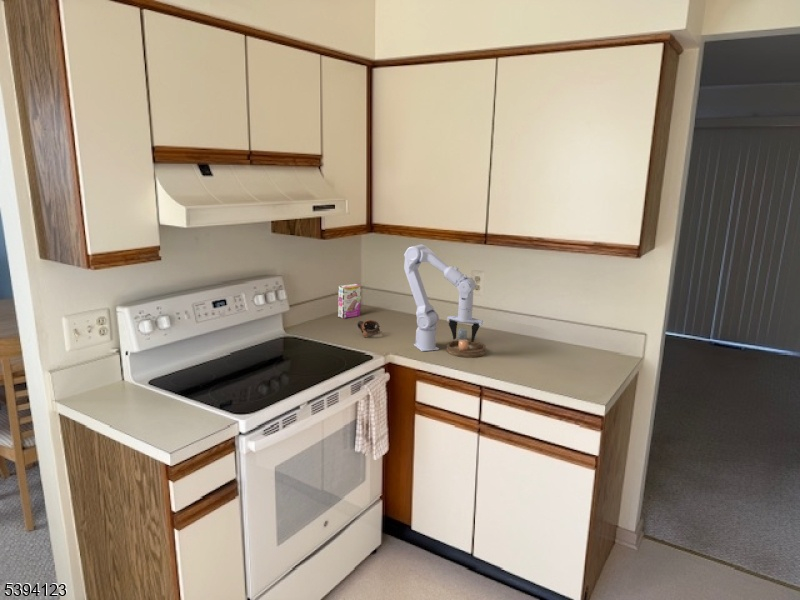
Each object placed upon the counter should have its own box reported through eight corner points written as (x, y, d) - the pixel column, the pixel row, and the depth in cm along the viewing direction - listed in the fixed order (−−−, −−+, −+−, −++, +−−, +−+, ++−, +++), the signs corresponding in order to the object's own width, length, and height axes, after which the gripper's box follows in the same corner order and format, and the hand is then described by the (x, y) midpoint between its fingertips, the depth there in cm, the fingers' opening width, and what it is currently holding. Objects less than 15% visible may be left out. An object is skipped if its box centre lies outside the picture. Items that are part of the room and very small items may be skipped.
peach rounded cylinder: (457, 352, 224) (457, 341, 223) (459, 350, 228) (460, 338, 227) (466, 354, 223) (467, 342, 222) (469, 351, 226) (469, 339, 225)
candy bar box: (343, 319, 276) (343, 287, 272) (337, 317, 279) (337, 285, 276) (361, 316, 283) (361, 285, 279) (355, 314, 286) (355, 283, 283)
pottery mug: (384, 334, 253) (384, 322, 247) (373, 347, 247) (373, 335, 241) (362, 324, 257) (361, 312, 251) (351, 337, 251) (350, 325, 245)
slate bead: (456, 339, 246) (456, 328, 245) (463, 338, 248) (464, 327, 247) (460, 341, 243) (460, 331, 242) (468, 341, 244) (468, 330, 243)
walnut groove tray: (440, 347, 234) (440, 341, 233) (473, 344, 240) (473, 338, 239) (457, 359, 219) (457, 353, 219) (492, 355, 225) (492, 349, 224)
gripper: (485, 307, 222) (483, 339, 225) (451, 303, 227) (449, 335, 230) (481, 311, 216) (479, 344, 219) (446, 307, 221) (444, 339, 224)
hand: (463, 340), depth 224 cm, fingers open, 7 cm apart
